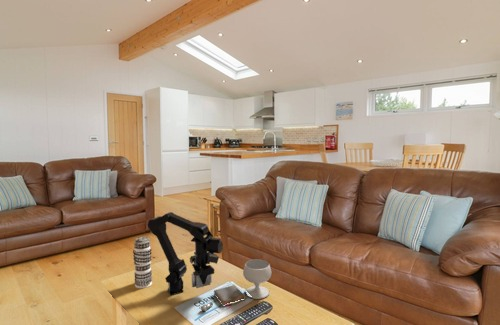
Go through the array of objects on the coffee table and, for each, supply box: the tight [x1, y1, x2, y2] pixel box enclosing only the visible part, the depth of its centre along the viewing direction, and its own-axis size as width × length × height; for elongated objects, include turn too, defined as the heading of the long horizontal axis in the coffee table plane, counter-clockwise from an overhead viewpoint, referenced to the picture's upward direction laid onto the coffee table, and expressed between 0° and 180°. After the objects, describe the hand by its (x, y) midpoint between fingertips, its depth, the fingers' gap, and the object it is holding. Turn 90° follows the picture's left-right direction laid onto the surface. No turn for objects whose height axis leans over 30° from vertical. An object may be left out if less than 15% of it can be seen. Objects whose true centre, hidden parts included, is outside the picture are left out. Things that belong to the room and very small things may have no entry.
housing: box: [191, 270, 213, 289], centre depth 141 cm, size 10×5×6 cm, turn 119°
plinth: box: [213, 284, 246, 305], centre depth 140 cm, size 11×11×3 cm
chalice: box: [242, 258, 272, 300], centre depth 144 cm, size 14×14×15 cm
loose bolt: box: [200, 301, 213, 312], centre depth 131 cm, size 6×3×3 cm, turn 149°
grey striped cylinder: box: [132, 236, 153, 289], centre depth 152 cm, size 9×9×25 cm
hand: (201, 281), depth 141 cm, fingers closed on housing, 5 cm apart
